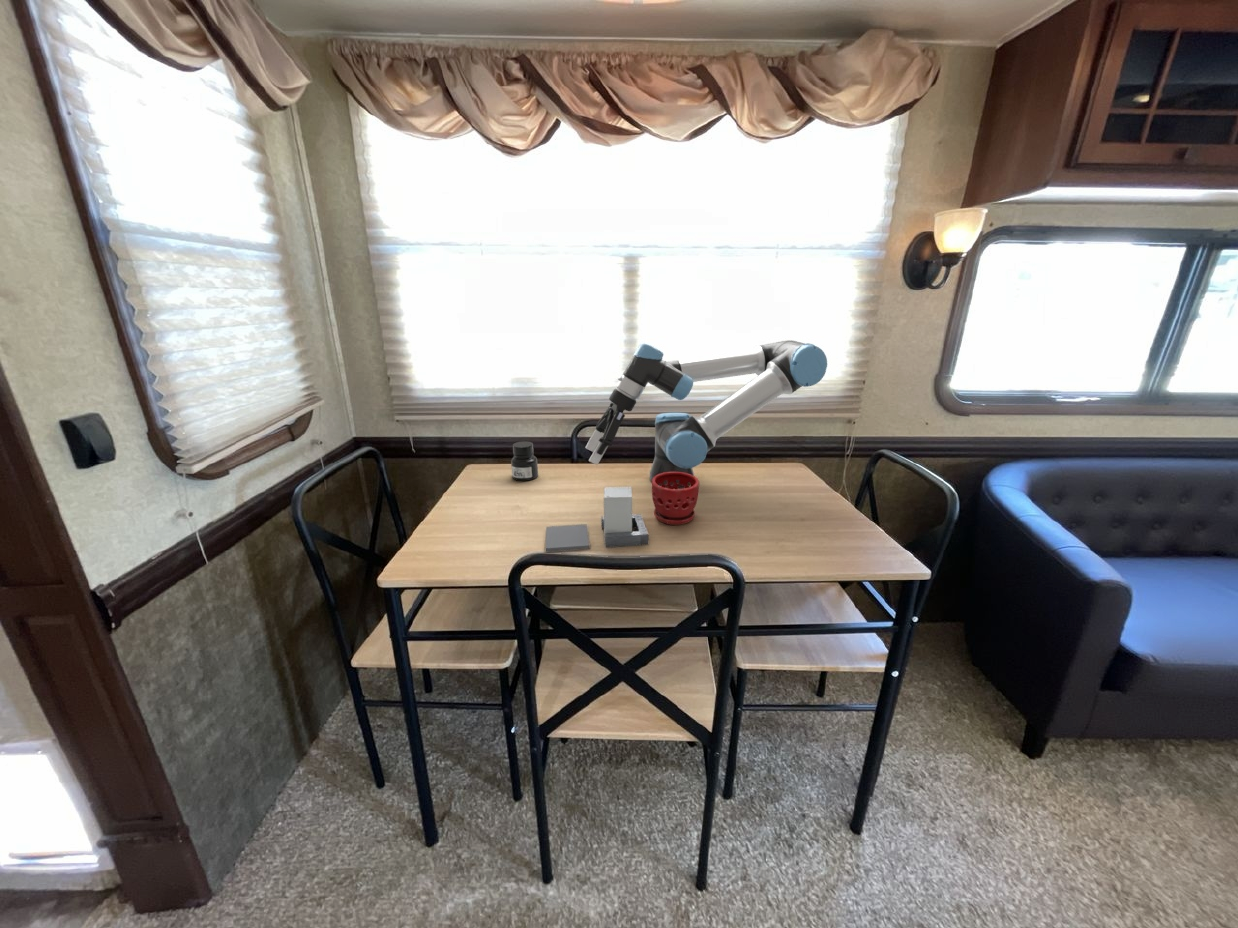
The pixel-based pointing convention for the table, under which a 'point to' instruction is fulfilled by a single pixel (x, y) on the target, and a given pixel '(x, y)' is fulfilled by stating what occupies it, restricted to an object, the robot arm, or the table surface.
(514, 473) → the ink bottle
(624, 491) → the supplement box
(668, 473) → the plant pot
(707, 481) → the table surface
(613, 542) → the grey piece
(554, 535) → the mat
